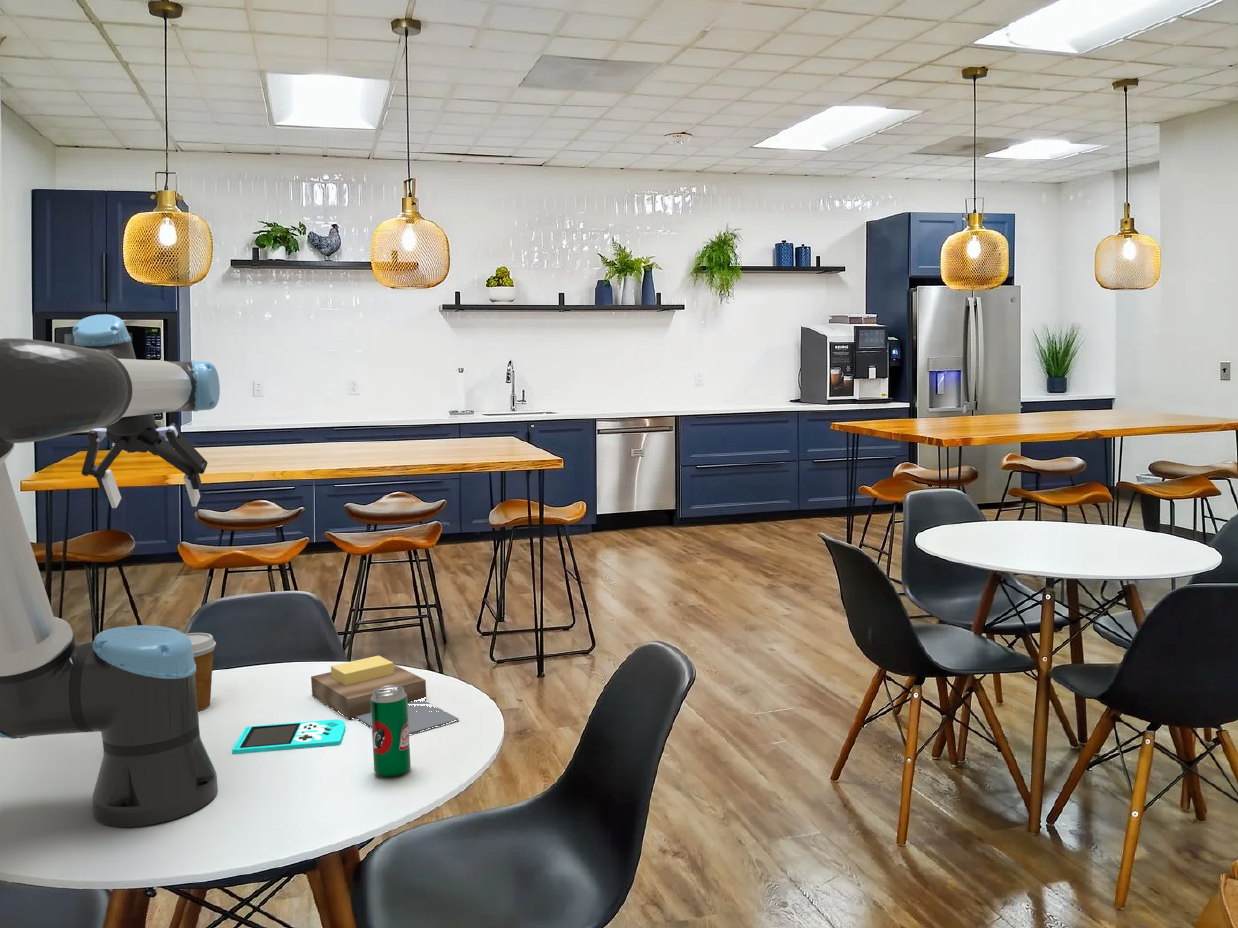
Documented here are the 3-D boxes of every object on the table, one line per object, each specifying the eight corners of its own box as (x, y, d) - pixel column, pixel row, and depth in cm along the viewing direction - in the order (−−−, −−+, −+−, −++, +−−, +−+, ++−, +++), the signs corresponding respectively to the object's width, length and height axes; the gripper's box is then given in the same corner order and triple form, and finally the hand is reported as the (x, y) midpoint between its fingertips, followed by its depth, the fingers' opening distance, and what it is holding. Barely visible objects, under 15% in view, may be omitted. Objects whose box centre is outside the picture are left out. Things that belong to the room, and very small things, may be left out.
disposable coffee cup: (200, 694, 173) (195, 629, 172) (231, 704, 167) (226, 636, 166) (148, 710, 165) (143, 642, 164) (179, 721, 160) (173, 650, 158)
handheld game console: (340, 748, 147) (340, 739, 147) (230, 757, 145) (230, 749, 145) (348, 724, 157) (347, 716, 157) (245, 733, 155) (245, 724, 155)
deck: (426, 699, 167) (425, 679, 166) (349, 719, 158) (348, 699, 158) (385, 677, 179) (384, 659, 179) (312, 695, 170) (311, 676, 170)
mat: (459, 720, 156) (459, 718, 156) (390, 740, 149) (390, 738, 149) (421, 701, 166) (421, 698, 166) (355, 718, 159) (355, 716, 158)
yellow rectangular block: (394, 673, 170) (393, 662, 170) (345, 685, 165) (344, 673, 164) (379, 666, 175) (378, 655, 175) (331, 677, 169) (330, 666, 169)
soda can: (410, 777, 135) (405, 694, 134) (372, 781, 134) (368, 697, 133) (411, 763, 140) (407, 682, 139) (375, 766, 139) (371, 685, 138)
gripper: (208, 390, 163) (233, 487, 176) (53, 392, 160) (90, 490, 173) (196, 416, 157) (224, 514, 170) (35, 418, 154) (75, 517, 168)
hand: (156, 502), depth 172 cm, fingers open, 13 cm apart
